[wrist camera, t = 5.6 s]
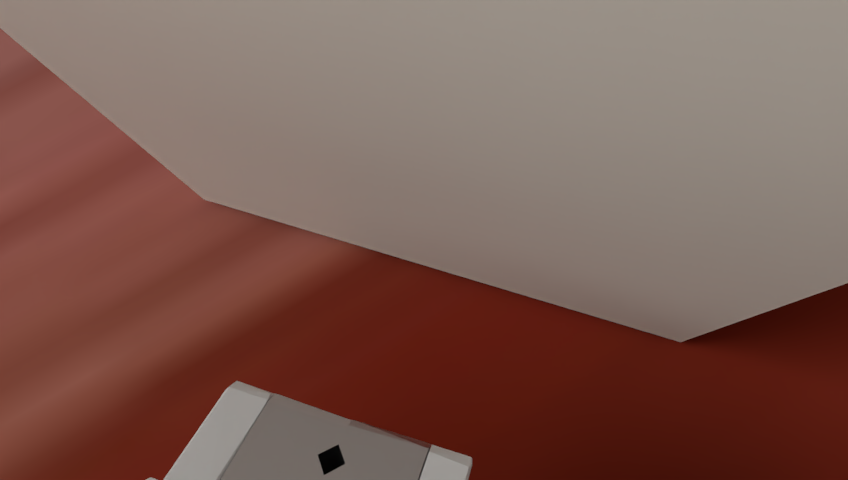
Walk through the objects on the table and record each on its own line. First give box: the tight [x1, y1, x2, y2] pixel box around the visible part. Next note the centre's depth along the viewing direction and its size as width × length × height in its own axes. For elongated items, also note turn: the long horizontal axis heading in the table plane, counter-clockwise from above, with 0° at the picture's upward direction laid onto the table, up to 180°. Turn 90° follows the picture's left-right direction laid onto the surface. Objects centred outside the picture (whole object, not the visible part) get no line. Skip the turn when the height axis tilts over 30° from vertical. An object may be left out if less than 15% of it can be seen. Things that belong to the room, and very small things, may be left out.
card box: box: [0, 0, 848, 342], centre depth 9 cm, size 4×10×14 cm, turn 72°
